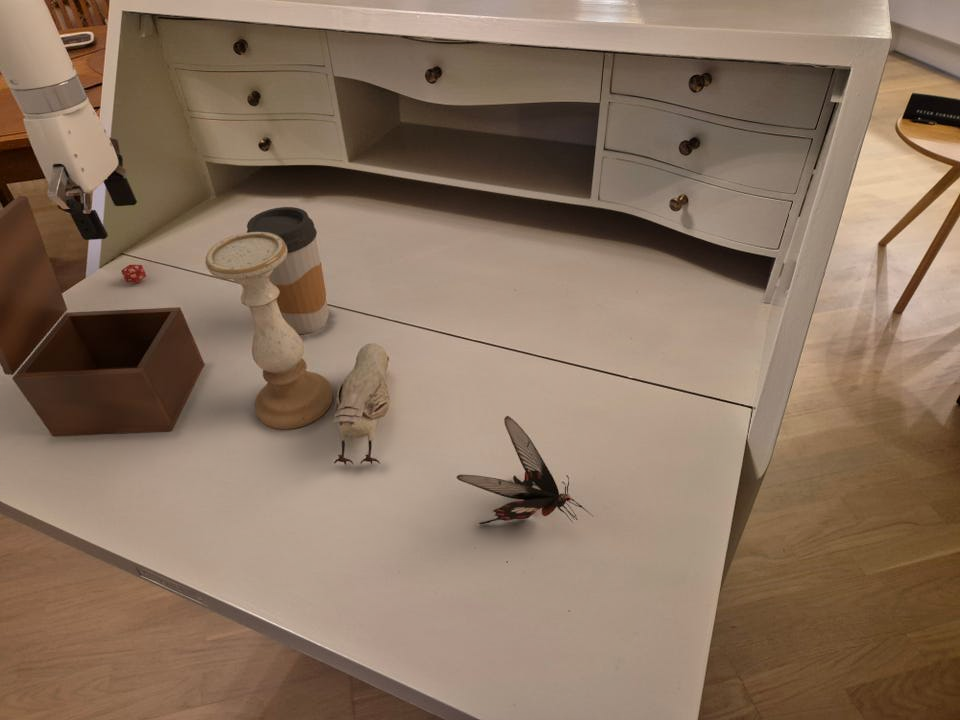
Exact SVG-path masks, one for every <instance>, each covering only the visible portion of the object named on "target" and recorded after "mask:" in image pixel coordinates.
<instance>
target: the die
mask: <svg viewBox="0 0 960 720" xmlns="http://www.w3.org/2000/svg"><path fill="white" fill-rule="evenodd" d="M121 274H122V277H123V279H124V282H125V283H139V282H140V281H142V280H143V279H145V278H146V277H147V273H146V271H145V269H144V266H143V265H142V264H129V265H127V266H126V267H124V268H123V269H121Z"/></svg>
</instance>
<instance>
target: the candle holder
mask: <svg viewBox="0 0 960 720" xmlns="http://www.w3.org/2000/svg"><path fill="white" fill-rule="evenodd" d="M287 251H288V250H287V246H286V244H285V242H284V240H283V239H282V238H281V237H279V236H278V235H275V234H273V233H268V232H248V233H247V232H243V233H238V234H235V235H231V236H230V237H227V238H224V239H223V240H220V241H218V242H217V243H216V244H214V245H213V246H212V247H211V248H210V249H209V250H208V252H207V253H206V256H205V267H206V269H207V270H208V272H209V273H210V274H211V275H212V276H215V277H216V278H219V279H221V280H232V281H233V282H235V283H239V284H240V286H242V292H241V295H240V302H241V304H242V305H244V306H246V307H248V308H249V311H250V314H251V318H252V320H253V326H254V328H253V330H254V331H253V336H252V340H251V341H252V342H251V356H252V359H253V361H254V363H255V364H256V365H257V366H258V367H259V368H260V369H262V377H263V379H264V381H265V382H266V384H265V385H264V386H263V387H262V389H260V390H259V392H258V394H257V395H256V398H255V399H254V400H255V401H254V409H255V412H256V415H257V417H258V418H259V420H260V421H261V422H262V423H263V424H265V425H267V426H268V427H271V428H275V429H278V430H279V429H280V430H290V429H297V428H301V427H304V426H307V425H309V424H312V423H313V422H315V421H317V420H318V419H320V418H321V417H322V416H323V415H324V414H325V413H326V412H328V409H329V408H330V406H331V404H332V402H333V398H334V393H333V392H334V391H333V387H332V385H331V382H330V381H329V380H328V379H327V378H326V377H325V376H323V375H321V374H320V373H317V372H312V371H308V370H307V367H308V365H307V362H306V361H305V359H304V358H303V356H304V353H305V345H304V341H303V339H302V338H301V336H300V334H298V333H297V332H296V331H295V330H294V329H293V328H292V327H291V326H290V325H289V324H288V323H287V322H286V321H285V320H284V318H283V316H282V314H281V312H280V309H279V306H278V304H277V300H276V299H277V298H278V296H279V293H280V291H279V289H278V287H276V286H275V285H274V284H272V283H271V282H270V274H271V273H272V271H273V269H274V268H276V267H277V266H279V265H280V264H281V263H282V262H283V261H284V260H285V258H286V256H287Z"/></svg>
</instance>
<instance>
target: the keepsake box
mask: <svg viewBox="0 0 960 720" xmlns="http://www.w3.org/2000/svg"><path fill="white" fill-rule="evenodd" d="M204 366H205V362H204V359H203V356H202V355H201V352H200V350H199V347H198V345H197V343H196V341H195V338H194V336H193V334H192V330H191V329H190V327H189V325H188V323H187V320H186V317H185V316H184V313H183V310H182V308H181V307H179V306H177V307H155V308H134V309H115V310H114V309H113V310H94V311H93V310H92V311H91V310H90V311H71V312H70V311H69V312H67V311H66V312H65V313H64V314H63V315H62V317H61V318H60V319H59V320H58V321H57V323H56V324H55V325H54V326H53V327H52V329H51V330H50V331H49V332H48V333H47V335H46V336H45V337H44V338H43V339H42V341H41V342H40V343H39V344H38V345H37V347H36V348H35V349H34V350H33V351H32V353H31V354H30V355H29V356H28V358H27V359H26V360H25V361H24V362H23V364H22V365H21V366H20V367H19V368H18V370H17V371H16V372H15V373H14V374H13V375H12V377H11V379H12V380H13V382H14V384H15V385H16V386H17V388H18V389H19V390H20V392H21V393H22V395H23V396H24V397H25V399H26V400H27V402H28V404H29V405H30V406H31V408H32V409H33V410H34V412H35V413H36V415H37V416H38V417H39V419H40V420H41V422H42V423H43V425H44V426H45V427H46V429H47V430H48V432H49V434H51V436H52V437H63V436H65V437H66V436H87V435H88V436H89V435H90V436H91V435H112V434H114V435H115V434H137V433H158V432H159V433H160V432H172V431H173V429H174V427H175V425H176V423H177V421H178V419H179V417H180V415H181V414H182V411H183V409H184V407H185V405H186V403H187V401H188V399H189V396H190V395H191V393H192V391H193V389H194V387H195V384H196V383H197V381H198V378H199V377H200V375H201V373H202V370H203V368H204Z"/></svg>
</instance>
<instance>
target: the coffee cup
mask: <svg viewBox="0 0 960 720" xmlns="http://www.w3.org/2000/svg"><path fill="white" fill-rule="evenodd" d="M246 229H247V230H246V233H248V232H268V233H273V234H275V235H278V236H279V237H281V238H282V239H283V240H284V242H285V244H286V246H287V250H288V251H287V256H286V258H285V260H284V261H283V262H282V263H281V264H280V265H279V266H277V267H276V268H274V269H273V271H272V273H271V274H270V282H271V283H272V284H274V285H275V286H276V287H278V289H279V291H280V293H279V296H278V298H277V299H276V300H277V304H278V306H279V309H280V312H281V314H282V316H283V318H284V320H285V321H286V322H287V323H288V324H289V325H290V326H291V327H292V328H293V329H294V330H295V331H296V332H297V333H298V335H307V334H310V333H314V332H316V331H318V330H320V329H321V328H323V327H324V326H325V325H326V324H327V322H328V318H329V315H330V312H329V311H330V310H329V307H328V300H327V291H326V284H325V279H324V273H323V266H322V262H321V258H320V253H319V246H318V241H317V235H318V234H317V233H318V231H317V229H316V227H315V223H314V221H313V219H312V218H311V217H309V214H308V212H307V211H306V210H304V209H302V208H299V207H294V206H281V207H275V208H270V209H266V210H263V211H260V212H259V213H256V214H255V215H254V216H252V217H251V218H249V220H248V221H247V224H246Z"/></svg>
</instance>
